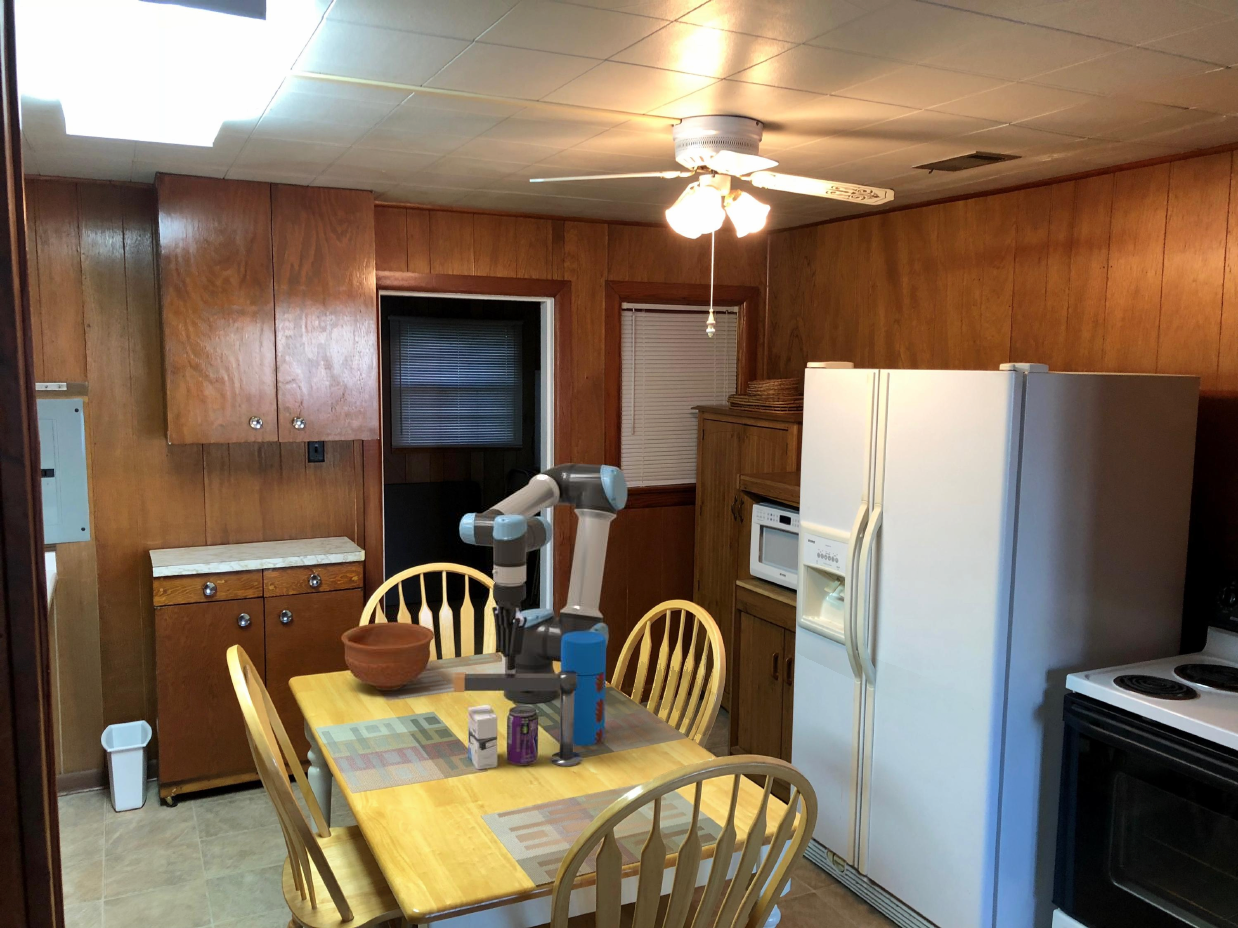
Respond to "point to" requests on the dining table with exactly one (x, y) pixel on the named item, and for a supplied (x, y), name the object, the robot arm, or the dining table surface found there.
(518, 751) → the beverage can
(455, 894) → the dining table surface
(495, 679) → the swing bar
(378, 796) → the dining table surface
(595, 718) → the thermos
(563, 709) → the post
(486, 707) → the ink box
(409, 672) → the bowl
